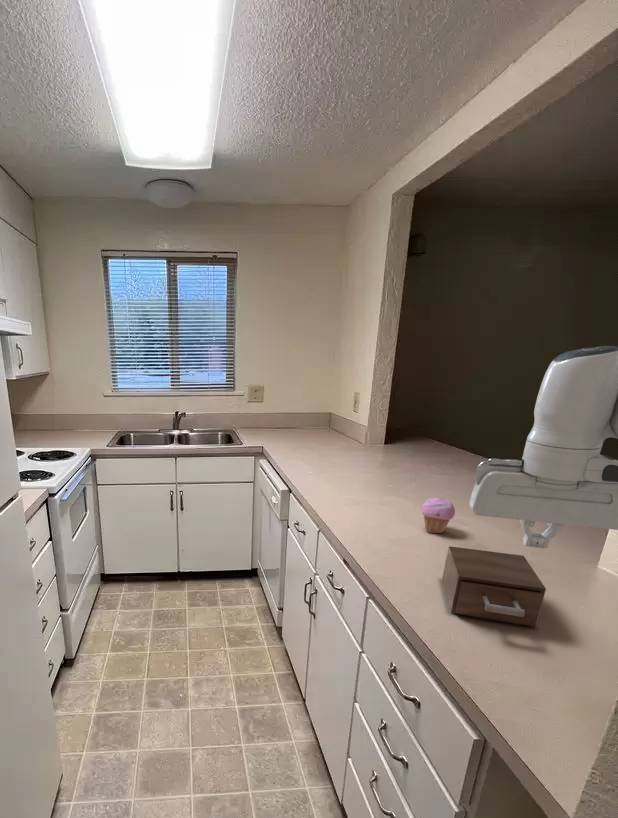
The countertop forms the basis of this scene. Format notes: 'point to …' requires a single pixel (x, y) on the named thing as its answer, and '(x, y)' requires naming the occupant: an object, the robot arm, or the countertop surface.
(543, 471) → the robot arm
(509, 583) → the cabinet
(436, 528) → the cupcake
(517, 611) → the drawer
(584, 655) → the countertop surface
